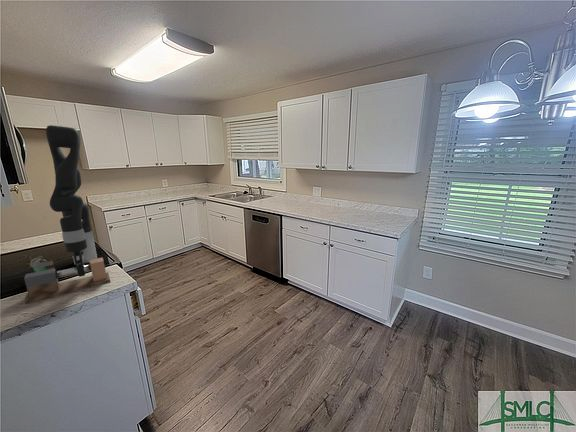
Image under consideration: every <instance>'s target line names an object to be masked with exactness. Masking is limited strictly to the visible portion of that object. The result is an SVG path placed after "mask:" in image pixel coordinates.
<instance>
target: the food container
mask: <svg viewBox="0 0 576 432" xmlns="http://www.w3.org/2000/svg"><path fill="white" fill-rule="evenodd" d="M54 264H55V263H54V261H53V259H52V260H49V259H48V258H45V257H43V255H40V256H37V257H35V258H33V259H31V260H30V263H29V266H30V267H32V268H33V271H34V272H39V271H44V270H48V269H53V268H55V267H54V266H55V265H54Z"/></svg>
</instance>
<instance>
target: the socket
mask: <svg viewBox="0 0 576 432" xmlns="http://www.w3.org/2000/svg"><path fill="white" fill-rule="evenodd" d="M89 264H90V266H91V271H90V272H91V276H93V281H98V280H102V279H106V278H107V276H106V272H107V271H106V266H105V262H104V258H103V257H97V259H93V260H90V262H89Z"/></svg>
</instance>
